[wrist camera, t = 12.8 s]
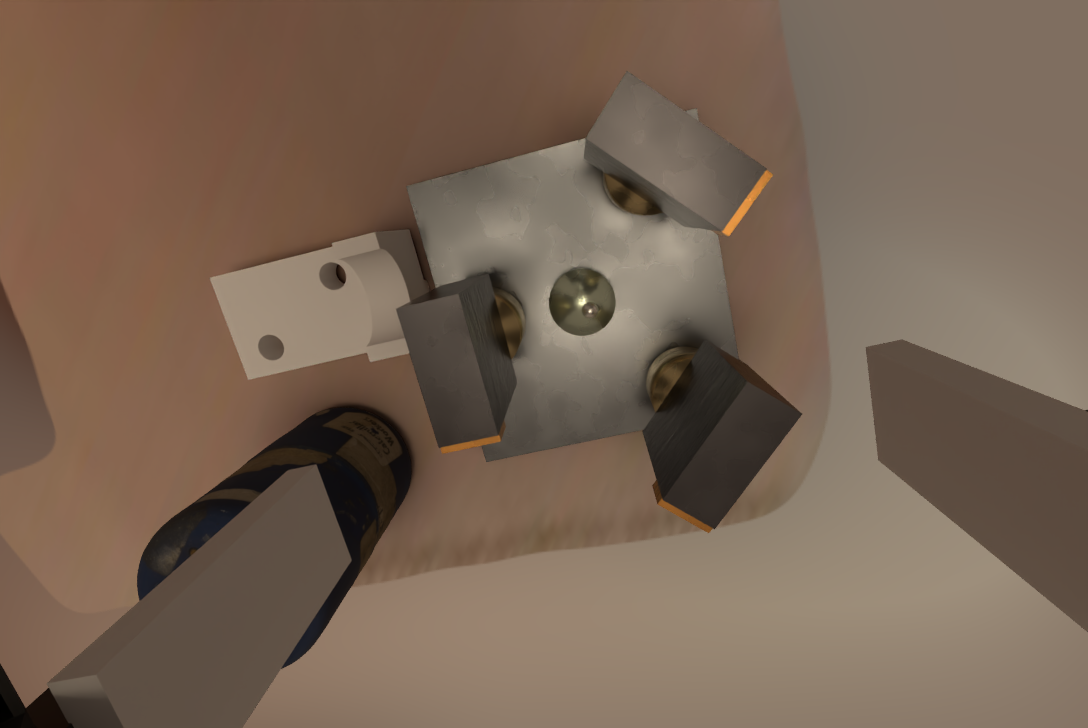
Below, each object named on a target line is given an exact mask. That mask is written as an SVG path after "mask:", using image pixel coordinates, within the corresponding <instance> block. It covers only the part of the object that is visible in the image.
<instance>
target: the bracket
mask: <svg viewBox="0 0 1088 728" xmlns="http://www.w3.org/2000/svg"><path fill="white" fill-rule="evenodd" d="M332 246H333V247H329V248H325V249H321V250H317V251H313V252H310V253H306V254H302V255H298V256H294V257H290V258H286V259H282V260H278V261H274V262H270V263H266V264H262V265H258V266H255V267H251V268H247V269H243V270H239V271H235V272H231V273H227V274H223V275H219V276H215V277H211V278H210V280H211V283H212V286H213V288H214V291H215V293H216V296H217V299H218V301H219V304H220V307H221V309H222V312H223V315H224V317H225V320H226V322H227V325H228V328H229V330H230V333H231V336H232V338H233V341H234V343H235V346H236V349H237V351H238V354H239V357H240V359H241V362H242V365H243V367H244V370H245V372H246V375H247V378H248V380H250V379H254V378H259V377H263V376H267V375H272V374H276V373H281V372H285V371H289V370H294V369H298V368H302V367H307V366H311V365H315V364H320V363H324V362H328V361H333V360H337V359H342V358H346V357H350V356H355V355H359V354H363V353H367V354H368V357H369V360H370V362H373V361H378V360H382V359H387V358H391V357H395V356H400V355H404V354H409V350H408V347H407V343H406V340H405V337H404V334H403V331H402V327H401V324H400V321H399V318H398V314H397V311H396V309H397V308H399V307H400V306H402V305H404V304H406V303H408V302H410V301H412V300H414V299H416V298H418V297H420V296H422V295H424V294H426V293H427V292H429V291H430V289H429V286H428V282H427V280H424V279H423V275H422V272H421V268H420V265H419V261H418V258H417V254H416V251H415V248H414V244H413V241H412V237H411V234H410V230H409V229H405V230H394V231H382V232H373V233H369V234H365V235H361V236H357V237H354V238H350V239H346V240H342V241H338V242H334V243H332ZM338 264H339V265H340V266H341V267H342V268H343V269H344V271H345V273H346V282H345V284H343V283H342V282H341V281H340V280H339V279H338V277H337V275H336V267H337V265H338Z"/></svg>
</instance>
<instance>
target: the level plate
mask: <svg viewBox="0 0 1088 728" xmlns="http://www.w3.org/2000/svg"><path fill="white" fill-rule="evenodd" d="M685 112H687V113H688V114H689V115H691V116H692V117H694V118H695V119H697V120H698V121H699V119H698V113H697V108H696V109H692V110H688V111H685ZM585 139H586V138H584V139H580V140H577V141H573V142H569V143H565V144H562V145H558V146H554V147H550V148H547V149H543V150H539V151H536V152H532V153H528V154H524V155H521V156H517V157H513V158H509V159H506V160H502V161H498V162H495V163H491V164H487V165H483V166H480V167H476V168H472V169H469V170H465V171H461V172H457V173H454V174H450V175H446V176H442V177H439V178H435V179H431V180H428V181H424V182H420V183H416V184H413V185H409V186H406V187H407V191H408V194H409V198H410V201H411V205H412V208H413V211H414V215H415V218H416V222H417V225H418V229H419V232H420V235H421V239H422V242H423V246H424V249H425V253H426V256H427V260H428V263H429V266H430V270H431V273H432V277H433V280H434V284H435V287H436V288H437V287H439V286H441V285H444V284H448V283H452V282H456V281H461V280H465V279H469V278H473V277H477V276H481V275H485V274H489V277H490V280H491V284H492V287H495V288H499V289H502V290H504V291H506V292H508V293H509V294H511V295H512V296H513V297H514V298H515V299H516V300H517V301H518V302H519V304H520V305H521V307H522V309H523V312H524V315H525V320H526V327H525V333H524V336H523V339H522V341H521V343H520V346H519V348H518V350H517V352H516V354H515V356H514V357H513V358H512V363H513V367H514V370H515V374H516V378H517V385H516V388H515V391H514V393H513V396H512V399H511V402H510V404H509V407H508V410H507V413H506V415H505V418H504V421H505V425H506V428H505V431H504V434H503V437H502V440H501V442H496V443H491V444H487V445H482V449H483V452H484V456H485V459H486V462H489V461H493V460H498V459H503V458H508V457H513V456H518V455H523V454H528V453H532V452H537V451H542V450H547V449H552V448H557V447H562V446H567V445H571V444H576V443H581V442H586V441H591V440H596V439H601V438H606V437H610V436H615V435H620V434H625V433H630V432H635V431H640V430H644V429H645V427H646V426H647V424H648V423H649V421H650V420H651V418H652V417H653V415H654V414H655V410H654V408H653V405H652V403H651V400H650V397H649V395H648V392H647V387H646V379H647V374H648V371H649V368H650V366H651V365H652V363H653V362H654V360H655V359H656V358H657V357H658V356H659V355H661V354H662V353H664V352H665V351H667V350H669V349H672V348H675V347H682V346H687V347H694V348H697V349H699V348H700V346H701V345H702V343H703V342H704V341H705V340H707V341H708V342H710V343H712V344H713V345H715V346H717V347H718V348H720V349H722V350H723V351H725V352H727V353H728V354H730V355H732V356H733V357H735V358H737V359H739V358H738V352H737V346H736V340H735V334H734V328H733V322H732V316H731V310H730V304H729V298H728V292H727V286H726V280H725V274H724V268H723V262H722V256H721V250H720V244H719V238H718V235H717V234H716V233H714V232H713V231H711V230H706V229H698V228H690V227H684V226H682V225H681V224H679V223H678V222H676V221H675V220H674V219H672V218H671V217H669V216H668V215H666V214H665V213H660V214H655V215H634V214H630V213H627V212H625V211H623V210H621V209H620V208H618V207H617V206H616V205H615V204H614V203H613V202H612V201H611V200H610V198H609V196H608V195H607V193H606V190H605V187H604V183H603V171H601V170H600V169H598V168H597V167H595V166H594V165H592V164H591V163H589V162H588V161H586V160H585V159H584V149H585Z"/></svg>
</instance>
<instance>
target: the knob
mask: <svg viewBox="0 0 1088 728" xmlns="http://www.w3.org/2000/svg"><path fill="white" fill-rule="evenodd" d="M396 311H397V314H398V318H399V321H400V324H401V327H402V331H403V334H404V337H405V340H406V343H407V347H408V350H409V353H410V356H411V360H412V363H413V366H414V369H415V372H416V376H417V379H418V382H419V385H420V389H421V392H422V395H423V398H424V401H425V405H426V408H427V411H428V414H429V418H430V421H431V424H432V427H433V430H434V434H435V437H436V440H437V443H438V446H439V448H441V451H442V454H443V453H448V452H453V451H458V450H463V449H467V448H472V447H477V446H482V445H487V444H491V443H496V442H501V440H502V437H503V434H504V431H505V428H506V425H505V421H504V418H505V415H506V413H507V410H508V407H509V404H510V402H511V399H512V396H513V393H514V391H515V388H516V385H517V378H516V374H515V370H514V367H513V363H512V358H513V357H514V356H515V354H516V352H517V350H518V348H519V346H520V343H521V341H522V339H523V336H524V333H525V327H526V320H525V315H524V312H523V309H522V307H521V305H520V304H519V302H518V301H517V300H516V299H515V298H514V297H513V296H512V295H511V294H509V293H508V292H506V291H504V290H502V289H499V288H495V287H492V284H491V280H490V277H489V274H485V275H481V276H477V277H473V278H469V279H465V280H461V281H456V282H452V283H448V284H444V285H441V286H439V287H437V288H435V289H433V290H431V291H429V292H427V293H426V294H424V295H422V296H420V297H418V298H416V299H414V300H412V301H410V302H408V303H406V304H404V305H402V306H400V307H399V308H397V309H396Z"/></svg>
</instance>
